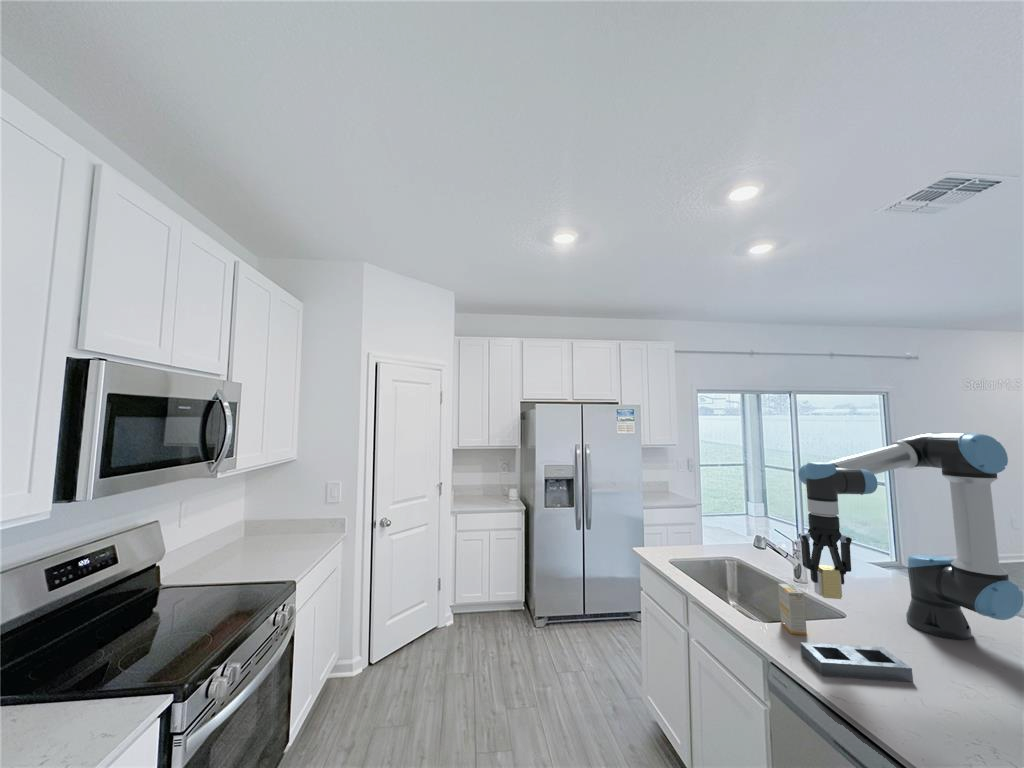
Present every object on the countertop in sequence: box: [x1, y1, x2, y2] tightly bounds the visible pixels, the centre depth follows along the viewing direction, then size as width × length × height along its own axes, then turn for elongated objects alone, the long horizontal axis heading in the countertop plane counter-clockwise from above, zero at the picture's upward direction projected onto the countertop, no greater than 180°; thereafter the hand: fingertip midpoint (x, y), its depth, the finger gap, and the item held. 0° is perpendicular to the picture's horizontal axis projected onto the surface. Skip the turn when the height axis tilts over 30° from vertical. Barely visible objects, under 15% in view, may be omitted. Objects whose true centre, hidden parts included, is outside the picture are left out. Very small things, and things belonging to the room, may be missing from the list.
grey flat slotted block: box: [799, 641, 914, 683], centre depth 117 cm, size 22×10×4 cm, turn 81°
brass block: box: [818, 564, 842, 600], centre depth 124 cm, size 4×4×8 cm
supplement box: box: [777, 583, 808, 636], centre depth 139 cm, size 8×5×13 cm, turn 168°
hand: (828, 594), depth 123 cm, fingers closed on brass block, 4 cm apart
